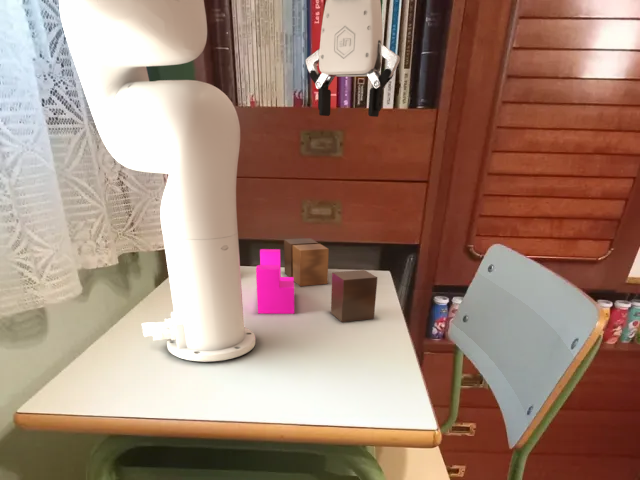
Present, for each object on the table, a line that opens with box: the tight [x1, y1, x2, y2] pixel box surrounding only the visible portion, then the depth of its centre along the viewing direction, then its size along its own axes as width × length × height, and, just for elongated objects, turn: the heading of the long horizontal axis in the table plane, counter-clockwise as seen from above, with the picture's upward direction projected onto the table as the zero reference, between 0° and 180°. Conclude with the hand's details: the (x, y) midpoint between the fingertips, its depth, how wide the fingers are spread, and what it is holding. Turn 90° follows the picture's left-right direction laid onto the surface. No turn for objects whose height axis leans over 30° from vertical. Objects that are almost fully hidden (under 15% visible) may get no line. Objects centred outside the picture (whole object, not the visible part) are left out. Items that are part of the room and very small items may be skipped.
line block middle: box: [293, 243, 329, 287], centre depth 98 cm, size 6×5×7 cm
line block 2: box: [330, 269, 378, 323], centre depth 81 cm, size 6×5×7 cm
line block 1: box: [283, 237, 319, 277], centre depth 103 cm, size 6×5×7 cm
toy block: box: [255, 248, 295, 315], centre depth 87 cm, size 15×6×8 cm, turn 3°
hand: (348, 115), depth 87 cm, fingers open, 9 cm apart
